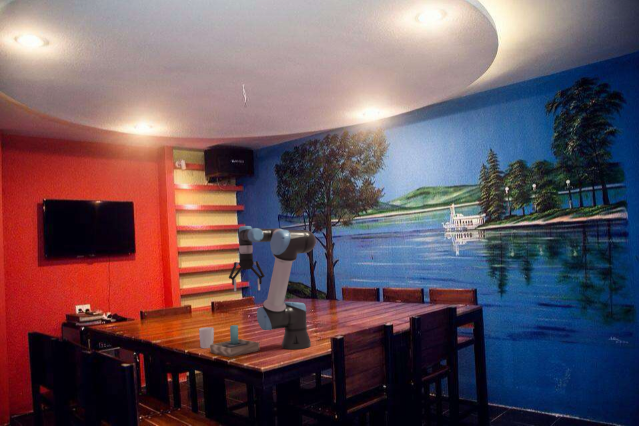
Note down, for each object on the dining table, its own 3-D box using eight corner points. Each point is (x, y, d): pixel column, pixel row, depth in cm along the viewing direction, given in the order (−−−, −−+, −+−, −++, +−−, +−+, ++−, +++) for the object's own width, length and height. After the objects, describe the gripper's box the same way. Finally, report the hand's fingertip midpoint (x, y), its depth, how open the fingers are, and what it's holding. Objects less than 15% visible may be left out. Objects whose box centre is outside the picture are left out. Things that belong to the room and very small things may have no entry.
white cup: (215, 345, 259) (215, 327, 259) (212, 348, 251) (212, 329, 252) (201, 346, 258) (200, 327, 259) (197, 349, 250) (197, 330, 251)
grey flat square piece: (259, 350, 240) (259, 342, 240) (229, 357, 227) (229, 348, 228) (239, 346, 253) (239, 338, 253) (210, 352, 240) (210, 344, 241)
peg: (240, 349, 240) (239, 325, 241) (233, 350, 237) (232, 326, 238) (235, 348, 243) (235, 324, 244) (229, 349, 240) (228, 325, 241)
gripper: (268, 252, 271) (269, 289, 269) (225, 254, 272) (226, 290, 270) (266, 252, 264) (268, 290, 262) (222, 254, 264) (223, 292, 262)
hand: (247, 290), depth 266 cm, fingers open, 13 cm apart
